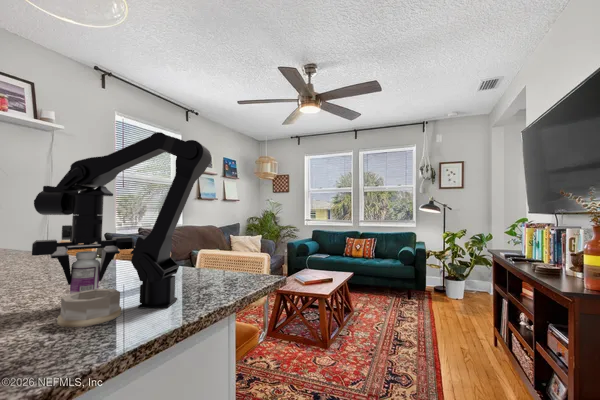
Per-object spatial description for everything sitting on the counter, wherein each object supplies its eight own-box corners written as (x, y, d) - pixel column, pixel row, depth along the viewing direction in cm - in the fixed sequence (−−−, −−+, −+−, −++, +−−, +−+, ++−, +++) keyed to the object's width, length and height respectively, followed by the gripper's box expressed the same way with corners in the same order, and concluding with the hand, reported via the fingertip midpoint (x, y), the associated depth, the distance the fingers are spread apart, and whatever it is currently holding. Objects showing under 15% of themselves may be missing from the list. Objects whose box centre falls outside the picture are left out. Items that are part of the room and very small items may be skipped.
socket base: (130, 308, 64) (131, 287, 64) (102, 326, 53) (103, 302, 54) (81, 309, 63) (82, 288, 63) (42, 327, 53) (43, 302, 53)
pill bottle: (79, 291, 69) (82, 250, 70) (103, 291, 70) (105, 250, 70) (63, 297, 64) (66, 253, 64) (88, 297, 64) (91, 253, 65)
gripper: (125, 215, 80) (123, 272, 79) (34, 215, 67) (30, 282, 66) (135, 215, 72) (133, 279, 71) (33, 215, 59) (29, 292, 58)
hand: (85, 282), depth 67 cm, fingers closed on pill bottle, 5 cm apart
